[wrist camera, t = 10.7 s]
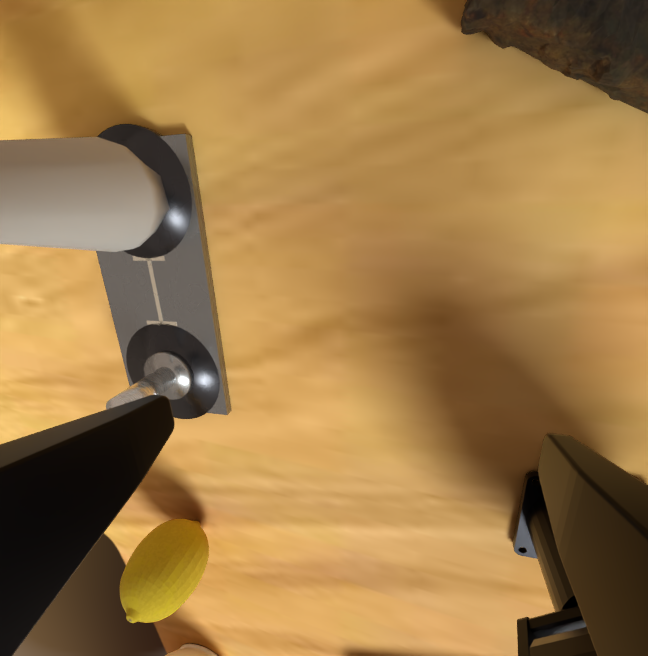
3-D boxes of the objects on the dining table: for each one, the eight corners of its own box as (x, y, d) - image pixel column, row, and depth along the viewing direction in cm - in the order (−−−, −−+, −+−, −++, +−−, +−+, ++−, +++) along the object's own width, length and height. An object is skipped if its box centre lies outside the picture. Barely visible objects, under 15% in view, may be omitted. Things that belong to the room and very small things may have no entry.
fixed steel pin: (197, 397, 26) (149, 440, 21) (155, 393, 26) (100, 433, 22) (189, 351, 24) (136, 386, 20) (145, 348, 25) (85, 381, 21)
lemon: (220, 555, 32) (161, 660, 25) (166, 530, 33) (94, 624, 25) (230, 513, 30) (169, 615, 22) (172, 487, 30) (95, 578, 23)
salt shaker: (97, 230, 23) (-247, 261, 11) (98, 133, 21) (-331, 42, 9) (176, 258, 22) (-103, 323, 10) (186, 160, 20) (-154, 101, 8)
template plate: (232, 419, 26) (228, 424, 26) (141, 408, 28) (136, 413, 28) (189, 119, 20) (182, 117, 19) (75, 132, 22) (66, 130, 21)
